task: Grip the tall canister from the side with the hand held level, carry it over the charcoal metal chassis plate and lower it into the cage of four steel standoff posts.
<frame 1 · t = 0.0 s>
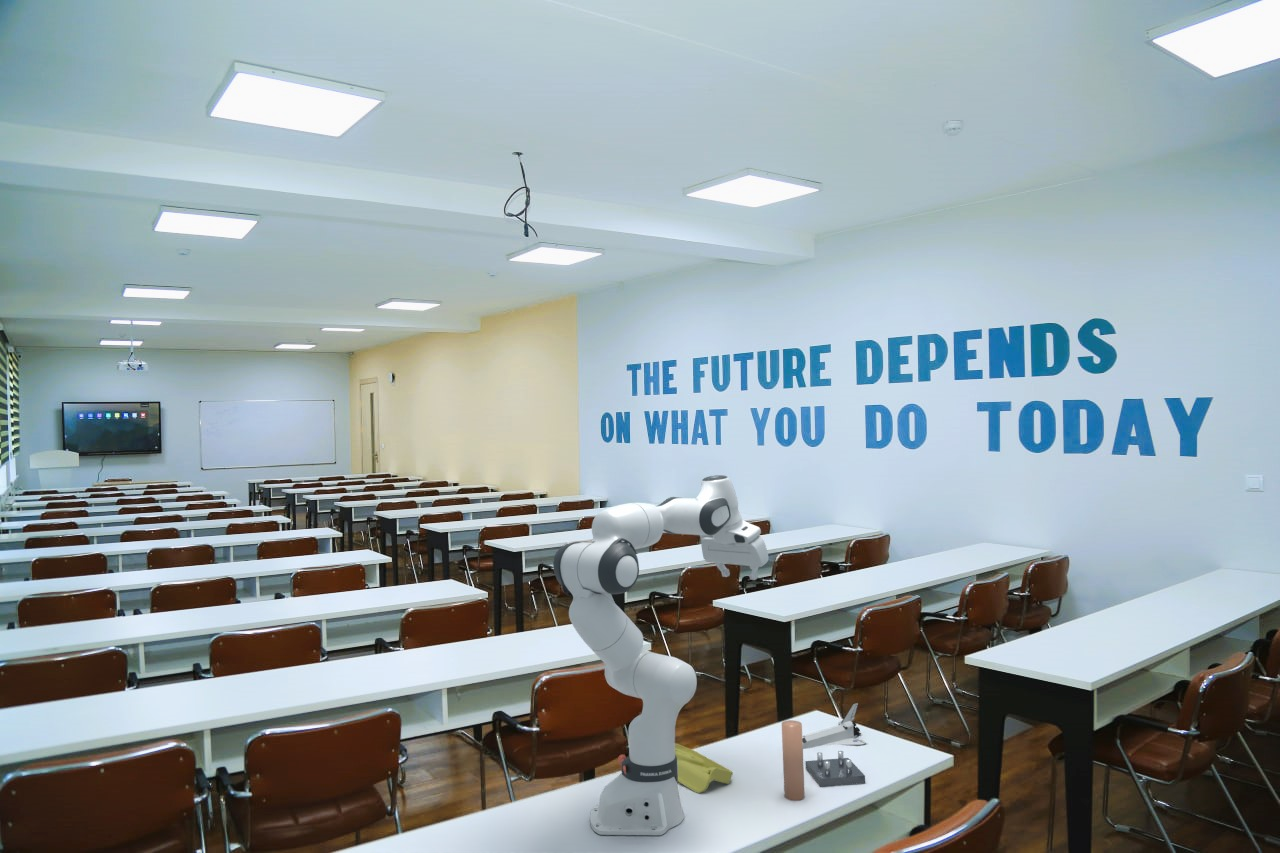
hand: (740, 577, 218), 52 cm above the table, tool tilted 20°, fingers open, 8 cm apart
canister: (794, 796, 199), on the table
chassis plate: (834, 775, 210), on the table
plastic component: (696, 778, 212), on the table
space shuttle model: (826, 744, 235), on the table
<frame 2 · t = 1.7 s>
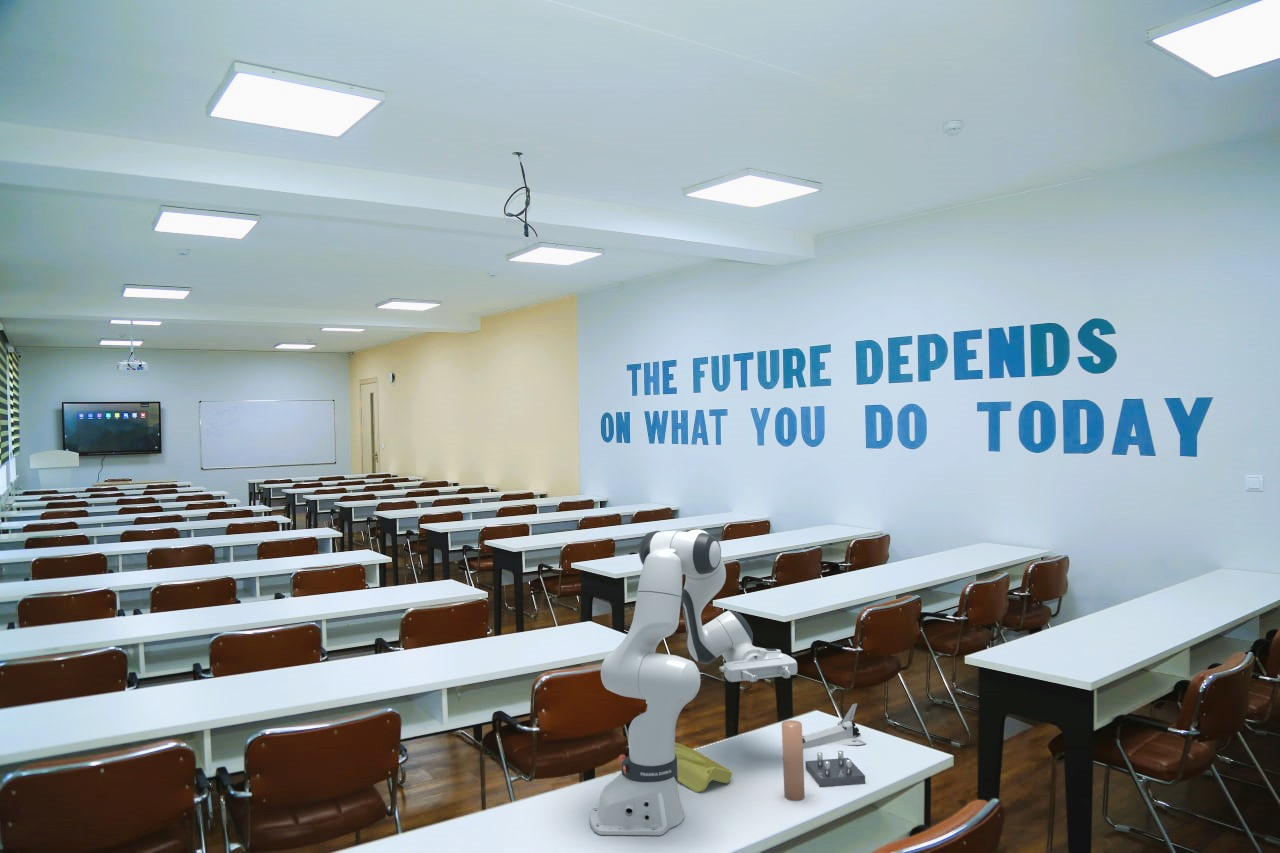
hand: (771, 677, 211), 26 cm above the table, tool horizontal, fingers open, 8 cm apart
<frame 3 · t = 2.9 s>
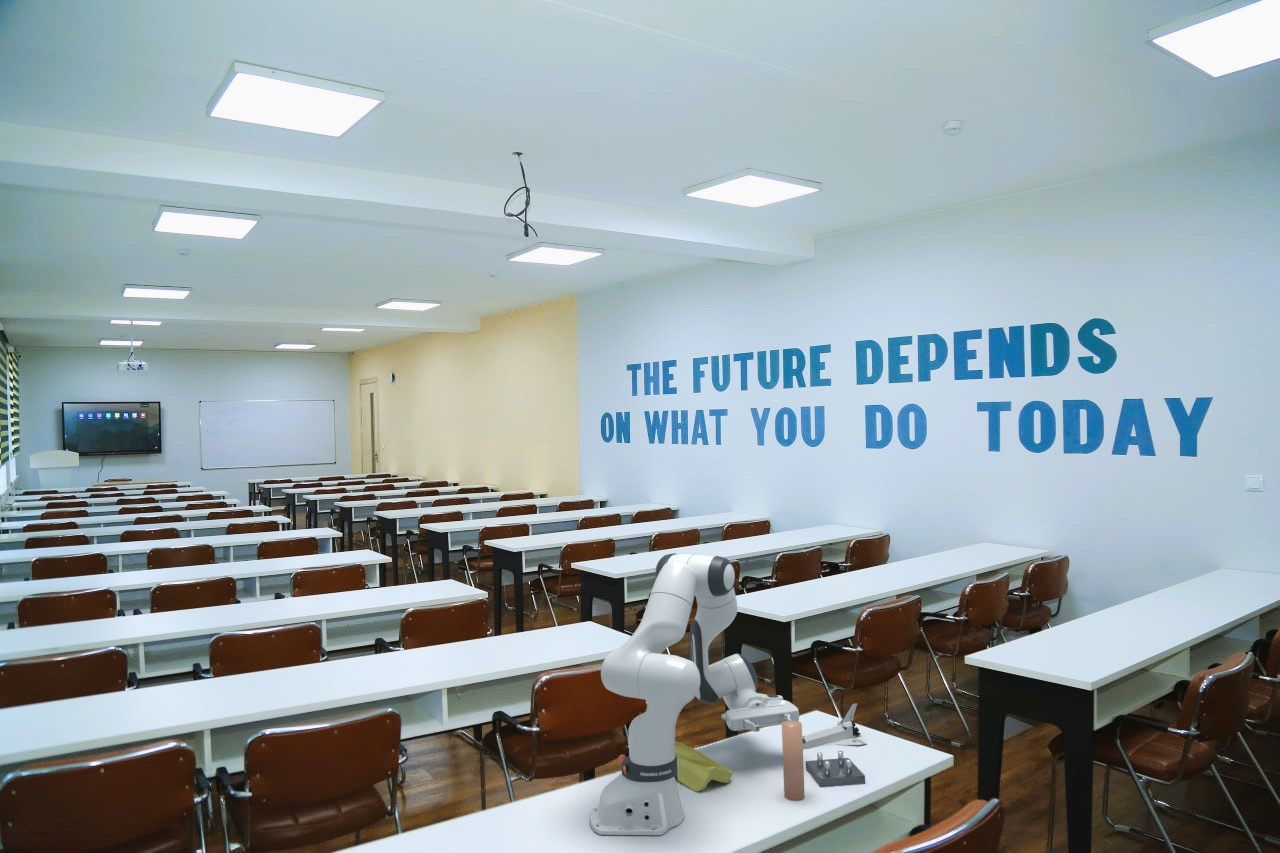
hand: (773, 726, 211), 13 cm above the table, tool horizontal, fingers open, 8 cm apart
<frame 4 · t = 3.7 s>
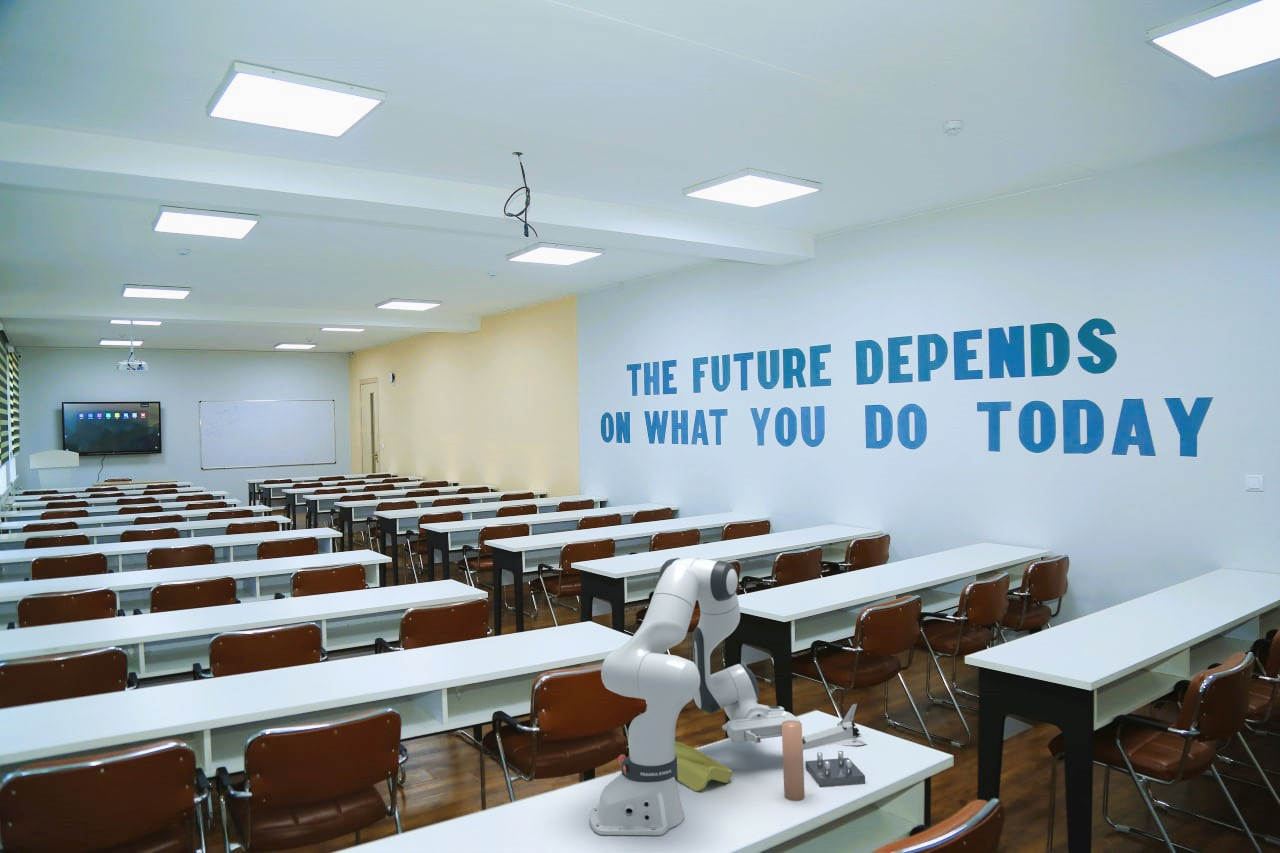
hand: (774, 737, 210), 11 cm above the table, tool horizontal, fingers open, 8 cm apart
nothing on the table moved.
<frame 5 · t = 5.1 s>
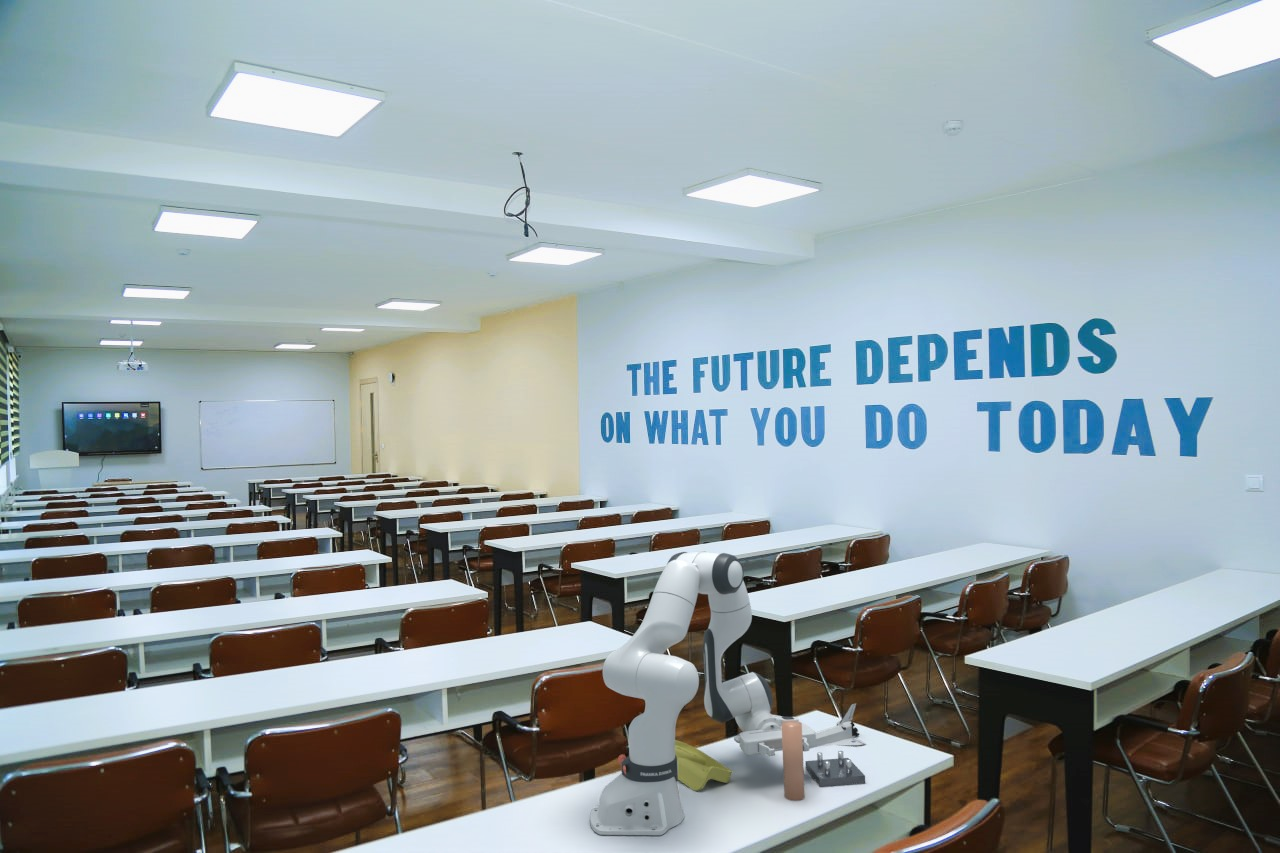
hand: (789, 750, 201), 11 cm above the table, tool horizontal, fingers open, 8 cm apart
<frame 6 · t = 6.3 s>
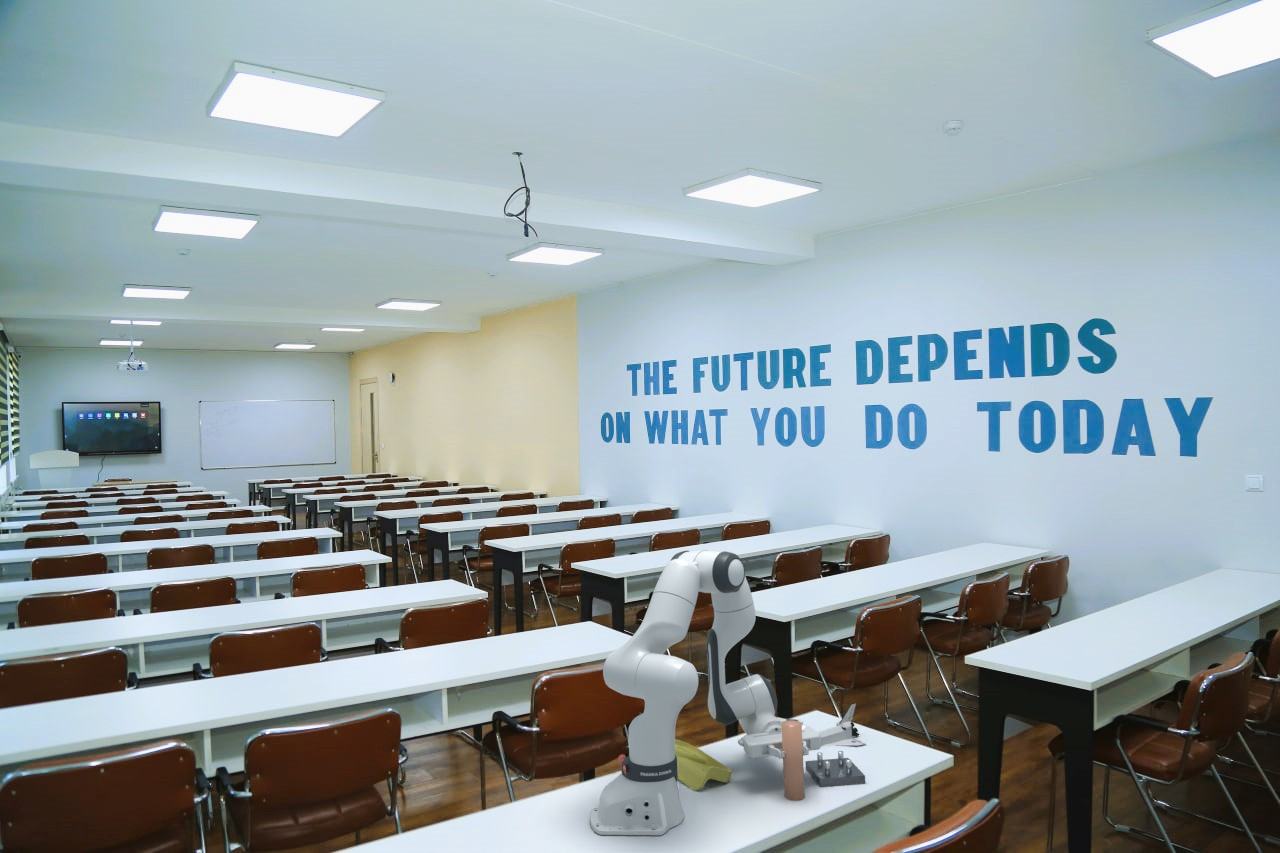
hand: (794, 753, 198), 11 cm above the table, tool horizontal, fingers closed on canister, 5 cm apart
canister: (794, 796, 199), on the table, touching gripper
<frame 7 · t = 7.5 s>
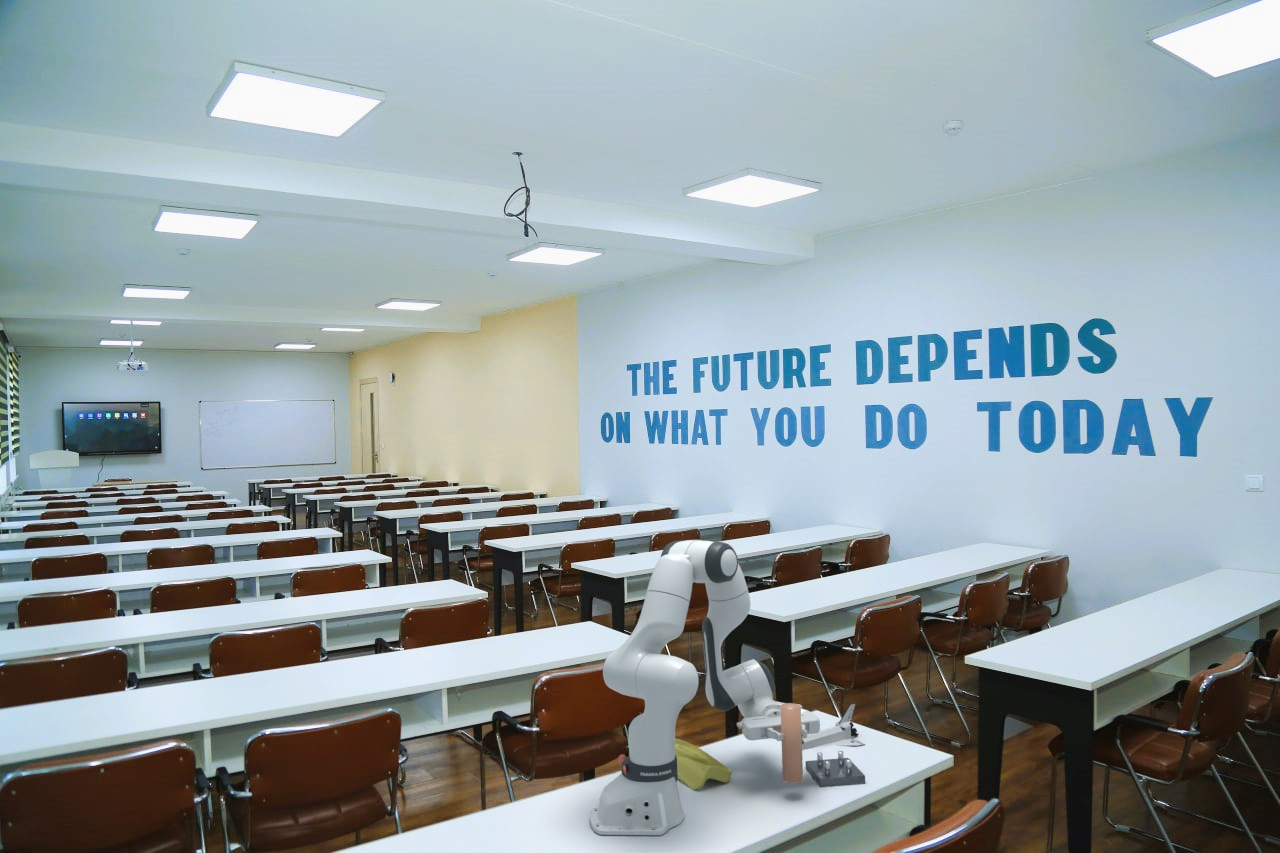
hand: (793, 736, 198), 15 cm above the table, tool horizontal, fingers closed on canister, 5 cm apart
canister: (792, 779, 198), point 4 cm above the table, touching gripper
when the fingers open (14 cm above the table, at t = 13.0 s): canister drops 1 cm, resting on chassis plate.
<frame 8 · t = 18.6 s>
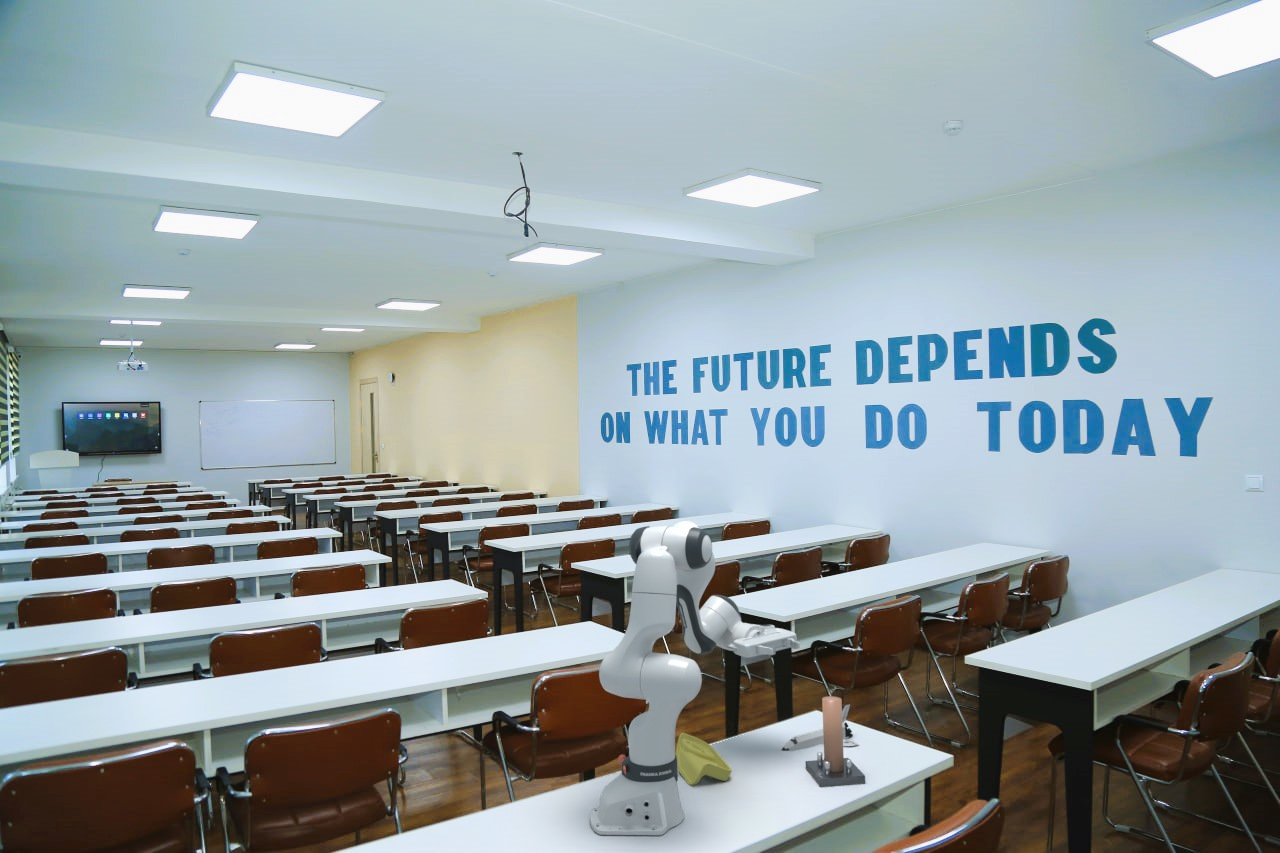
hand: (785, 648, 218), 32 cm above the table, tool horizontal, fingers open, 8 cm apart
canister: (834, 768, 210), point 2 cm above the table, touching chassis plate
plastic component: (702, 772, 217), on the table
space shuttle model: (817, 745, 234), on the table
at the end: canister 0.1 cm off-centre on the chassis plate, point 2.0 cm above the chassis plate's base; canister tilted 1°; the gripper is holding nothing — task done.
